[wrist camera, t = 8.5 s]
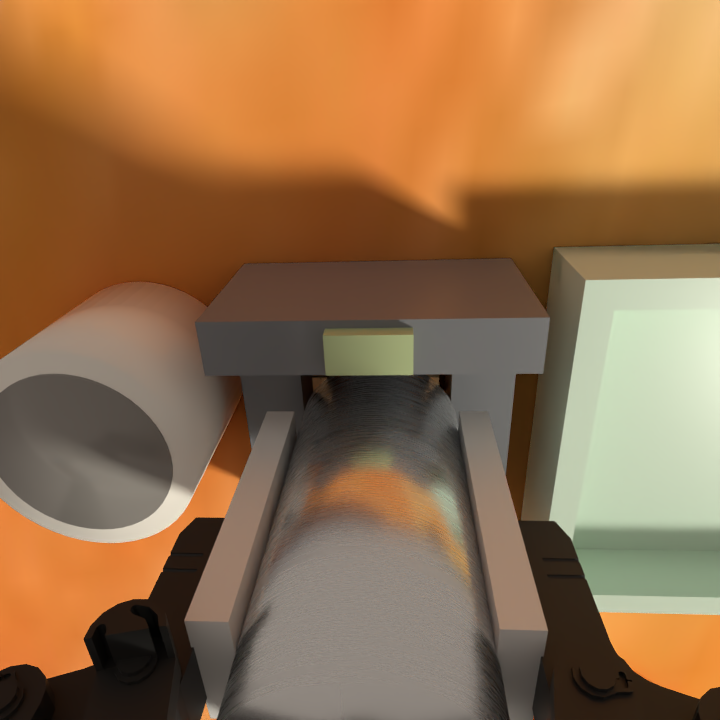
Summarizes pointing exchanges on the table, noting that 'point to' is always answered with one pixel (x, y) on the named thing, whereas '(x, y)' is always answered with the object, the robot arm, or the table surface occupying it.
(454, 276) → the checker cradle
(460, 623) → the steel cell
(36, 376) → the cup
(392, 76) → the table surface
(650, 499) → the tray
